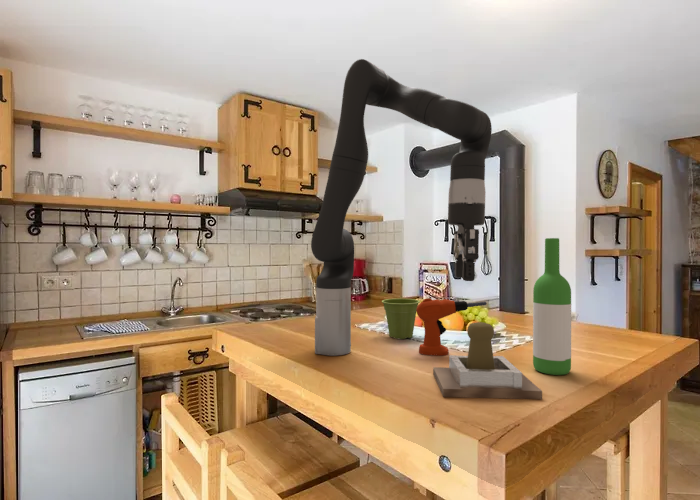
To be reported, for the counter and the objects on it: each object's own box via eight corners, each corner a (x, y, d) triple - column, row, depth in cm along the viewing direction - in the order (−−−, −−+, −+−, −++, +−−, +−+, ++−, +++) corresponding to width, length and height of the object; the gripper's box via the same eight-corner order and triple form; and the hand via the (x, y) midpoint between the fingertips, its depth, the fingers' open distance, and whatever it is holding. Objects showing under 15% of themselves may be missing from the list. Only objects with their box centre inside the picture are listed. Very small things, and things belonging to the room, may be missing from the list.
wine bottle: (578, 372, 93) (578, 238, 92) (558, 378, 89) (558, 237, 88) (545, 364, 99) (546, 238, 99) (525, 369, 95) (526, 238, 95)
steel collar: (460, 387, 79) (460, 371, 79) (449, 368, 90) (449, 355, 90) (521, 388, 78) (521, 372, 78) (502, 370, 90) (502, 356, 90)
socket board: (443, 396, 78) (443, 388, 78) (433, 374, 92) (433, 367, 92) (542, 399, 77) (542, 391, 77) (516, 375, 91) (516, 368, 91)
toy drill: (494, 351, 105) (486, 293, 106) (419, 358, 108) (412, 301, 108) (490, 347, 110) (483, 291, 110) (419, 353, 113) (412, 298, 113)
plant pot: (378, 333, 135) (378, 298, 135) (414, 332, 136) (414, 298, 136) (385, 341, 123) (385, 303, 123) (424, 340, 125) (424, 303, 125)
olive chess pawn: (492, 383, 81) (492, 326, 81) (461, 378, 84) (461, 323, 84) (499, 375, 86) (499, 322, 86) (469, 370, 89) (470, 319, 89)
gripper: (443, 205, 95) (441, 275, 96) (454, 198, 81) (451, 281, 82) (477, 205, 95) (475, 276, 95) (493, 199, 81) (490, 282, 81)
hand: (464, 278), depth 88 cm, fingers open, 8 cm apart
